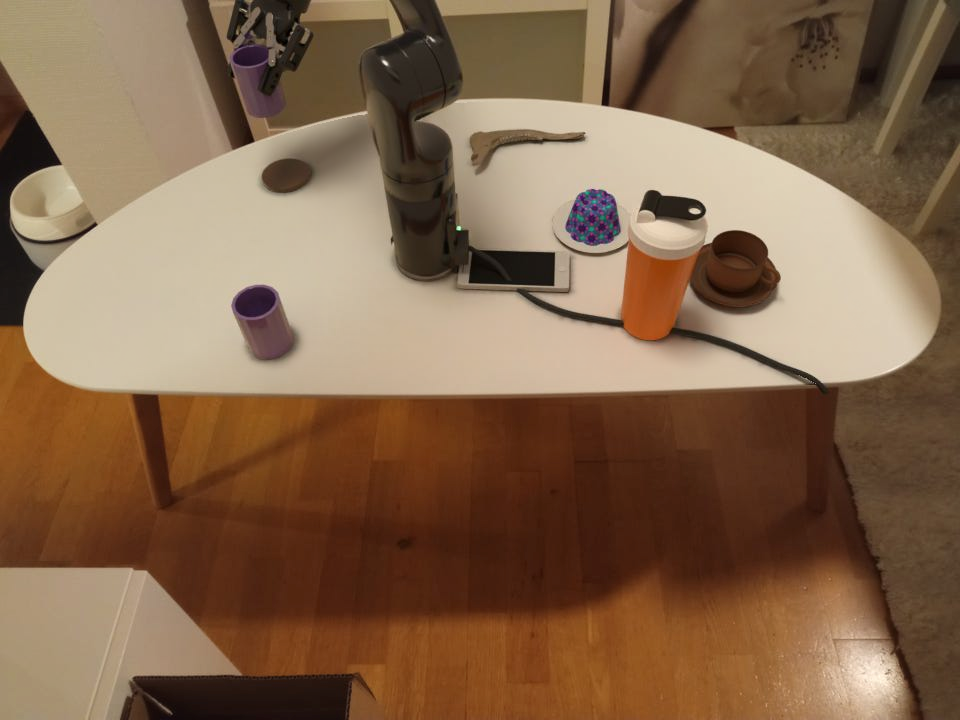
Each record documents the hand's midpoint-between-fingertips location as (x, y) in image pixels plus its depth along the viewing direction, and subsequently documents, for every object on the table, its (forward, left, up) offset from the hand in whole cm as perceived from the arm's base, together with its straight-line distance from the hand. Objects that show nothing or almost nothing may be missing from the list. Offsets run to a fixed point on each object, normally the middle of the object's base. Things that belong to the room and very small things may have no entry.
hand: (249, 85), depth 107 cm
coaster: (-1, -1, -17) cm, 17 cm away
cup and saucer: (-67, +22, -17) cm, 73 cm away
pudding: (-49, +11, -17) cm, 53 cm away
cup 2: (-5, +33, -17) cm, 37 cm away
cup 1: (-1, -1, -4) cm, 5 cm away
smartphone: (-37, +20, -17) cm, 46 cm away
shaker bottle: (-55, +29, -17) cm, 65 cm away
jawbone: (-40, -6, -17) cm, 44 cm away
